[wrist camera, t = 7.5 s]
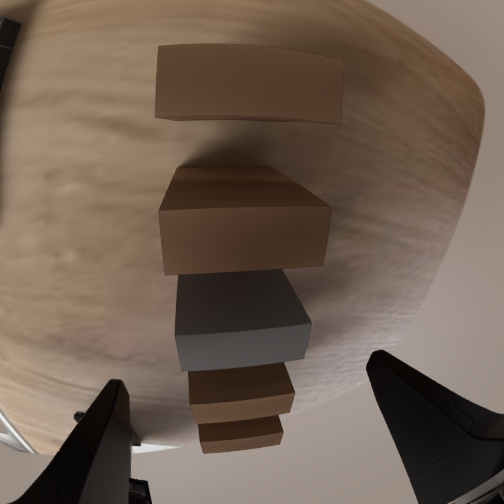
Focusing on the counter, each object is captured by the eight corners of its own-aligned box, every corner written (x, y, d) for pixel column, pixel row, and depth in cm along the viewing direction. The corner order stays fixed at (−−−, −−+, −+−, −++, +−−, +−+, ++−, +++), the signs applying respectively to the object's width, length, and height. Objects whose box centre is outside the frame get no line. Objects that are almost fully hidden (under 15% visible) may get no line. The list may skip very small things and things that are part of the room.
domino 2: (268, 201, 16) (323, 265, 9) (178, 203, 15) (165, 275, 8) (270, 166, 15) (332, 206, 8) (177, 167, 14) (158, 210, 7)
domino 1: (273, 121, 14) (340, 124, 7) (177, 121, 13) (155, 117, 6) (274, 86, 13) (343, 60, 6) (177, 84, 12) (158, 45, 5)
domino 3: (264, 270, 17) (303, 358, 11) (183, 274, 17) (181, 371, 10) (266, 241, 17) (311, 322, 10) (180, 245, 16) (174, 335, 9)
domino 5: (257, 365, 21) (279, 444, 15) (195, 371, 21) (203, 453, 14) (258, 349, 21) (283, 432, 14) (193, 354, 20) (200, 442, 13)
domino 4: (260, 325, 19) (289, 412, 13) (189, 330, 19) (194, 423, 12) (261, 303, 19) (295, 392, 12) (187, 308, 18) (189, 404, 11)
